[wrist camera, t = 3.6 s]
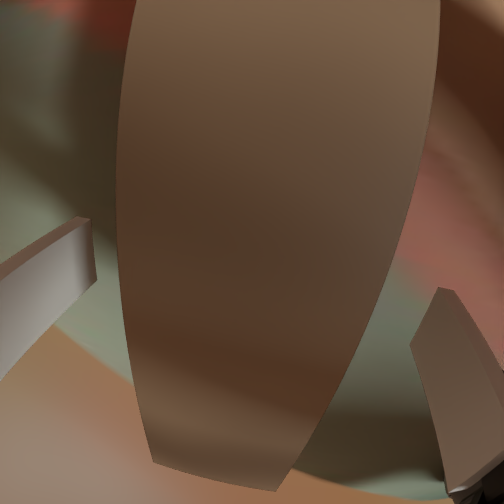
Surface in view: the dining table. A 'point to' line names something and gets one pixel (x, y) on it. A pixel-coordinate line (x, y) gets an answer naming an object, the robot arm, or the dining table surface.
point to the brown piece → (261, 212)
